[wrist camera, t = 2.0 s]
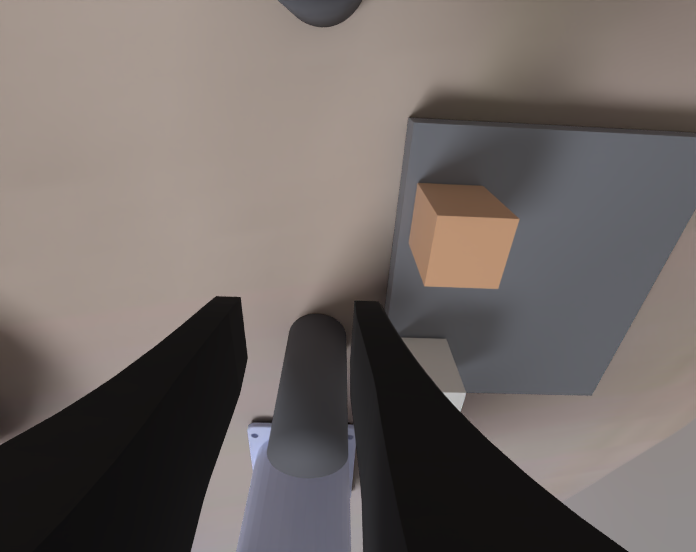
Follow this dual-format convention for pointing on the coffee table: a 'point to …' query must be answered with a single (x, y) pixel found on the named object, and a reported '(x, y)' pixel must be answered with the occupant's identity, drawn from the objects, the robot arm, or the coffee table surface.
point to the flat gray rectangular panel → (545, 246)
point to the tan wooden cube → (460, 236)
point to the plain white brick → (439, 366)
